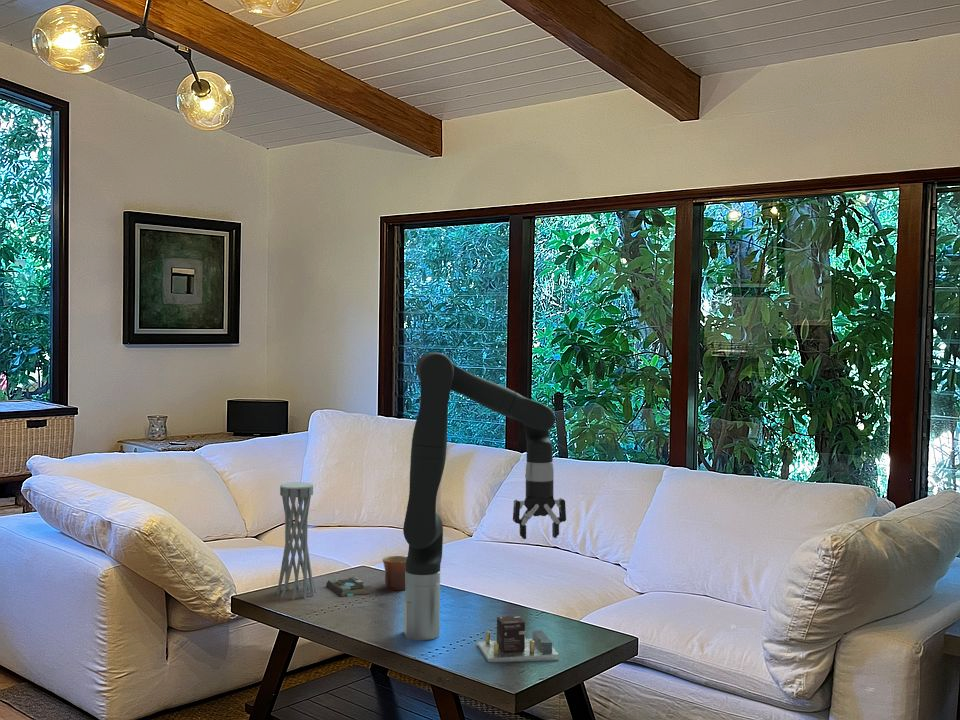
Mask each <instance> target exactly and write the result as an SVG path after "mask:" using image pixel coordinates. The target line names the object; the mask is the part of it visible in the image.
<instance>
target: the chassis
mask: <svg viewBox="0 0 960 720" xmlns="http://www.w3.org/2000/svg"><path fill="white" fill-rule="evenodd" d="M531 633H532V634H531V638H525V650H524V651H514V652H502V651H501V650H500V648H499V643H497V640H491V634H492V633H491V631H490V630H488V631H487V630H486V631H485V640H483V641H477V643H476V644H477V647H478V648H479V650H480V652H481V653H482V655H483V656H484V658H485V659H486V661H487V662H488V663H508V662H538V661H539V662H541V661H559V660H560V657H559V656H560V654H559V652H558V651H557V650H556V649H555V648H554V647H553V642H552V641H551V640H550V638H549V637H548V636H547V635H546V633H544V632H543V631H542V630H532V631H531Z"/></svg>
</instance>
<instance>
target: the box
mask: <svg viewBox="0 0 960 720" xmlns="http://www.w3.org/2000/svg"><path fill="white" fill-rule="evenodd" d="M525 639H526V622H525V621H524V620H523V619H522V618H521V616H515V615H514V616H511V615H509V616H507V615H506V616H497V617H496V641H497V643H499V648H500V650H501V651H502V652H514V651H524V650H525Z"/></svg>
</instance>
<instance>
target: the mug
mask: <svg viewBox="0 0 960 720" xmlns="http://www.w3.org/2000/svg"><path fill="white" fill-rule="evenodd" d="M406 559H407V556H403V555H390V556H386V557H383V558H382V564H383V567H384V578H383V580H384V581H383V582H384V583H383V585H384V589H385V590H387V591H392V592H403V591H405V568H406Z"/></svg>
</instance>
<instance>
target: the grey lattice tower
mask: <svg viewBox="0 0 960 720" xmlns="http://www.w3.org/2000/svg"><path fill="white" fill-rule="evenodd" d="M279 485H280V486H279V496H281V498H282V504H283V511H284V515H285V516H284V530H285V531H284V532H285V533H284V549H283V555H282V561H281V566H280V574H279V578H278V585H277V588H276V592H275V596H279V595H280V593H281V596H280V598H281V599H284V598H286V594H287V591H288V590H289V589H290V588H289V587H290V586H289V583H290V582H289V581H290V577H291V574H292V571H293V574H294V583H293V589H292V590H293V591H292V596H291V599H292V600H295V599H296V596H297V595H296V593H297V590H300V583H299V576H300V575H299V574H300V569H301V573H302V576H303V579H302V580H303V585H302V586H303V588H302V589H303V590H302V594H303V596H302V597H303V599H305V600H306V599H307V598H308V591H310V595H311V597H315V595H316V593H317V591H316V587H315V583H314V579H313V573H312V567H311V565H312V564H311V558H310V553H309V547H308V516H309V511H310V504H311V497H312V496H313V495H314V483H310V482H286V483H280V484H279ZM296 500H297V501H298V507H296ZM290 503H291V504H290ZM290 505H291V507H290ZM299 542H300V543H299ZM293 543H294V545H293ZM290 554H291V555H290ZM302 554H303V555H302ZM296 555H297V556H298V558H297V564H296ZM289 556H291V557H289ZM289 559H290V560H289ZM300 567H301V568H300ZM283 580H284V585H283ZM282 586H283V587H282ZM281 591H282V592H281Z"/></svg>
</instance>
